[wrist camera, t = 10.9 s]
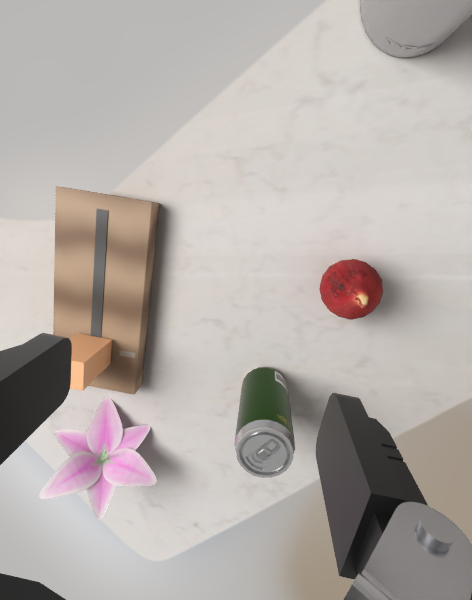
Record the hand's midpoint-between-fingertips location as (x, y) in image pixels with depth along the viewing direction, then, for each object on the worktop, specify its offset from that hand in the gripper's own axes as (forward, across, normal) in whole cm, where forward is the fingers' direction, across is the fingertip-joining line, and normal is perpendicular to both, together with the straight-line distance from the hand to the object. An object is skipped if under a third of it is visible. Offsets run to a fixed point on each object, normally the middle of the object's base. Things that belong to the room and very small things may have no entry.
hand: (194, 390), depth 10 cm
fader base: (+27, +15, +8) cm, 32 cm away
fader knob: (+24, +15, +13) cm, 32 cm away
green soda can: (+27, -5, +15) cm, 32 cm away
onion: (+28, -11, +1) cm, 30 cm away
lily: (+27, +12, +26) cm, 40 cm away
